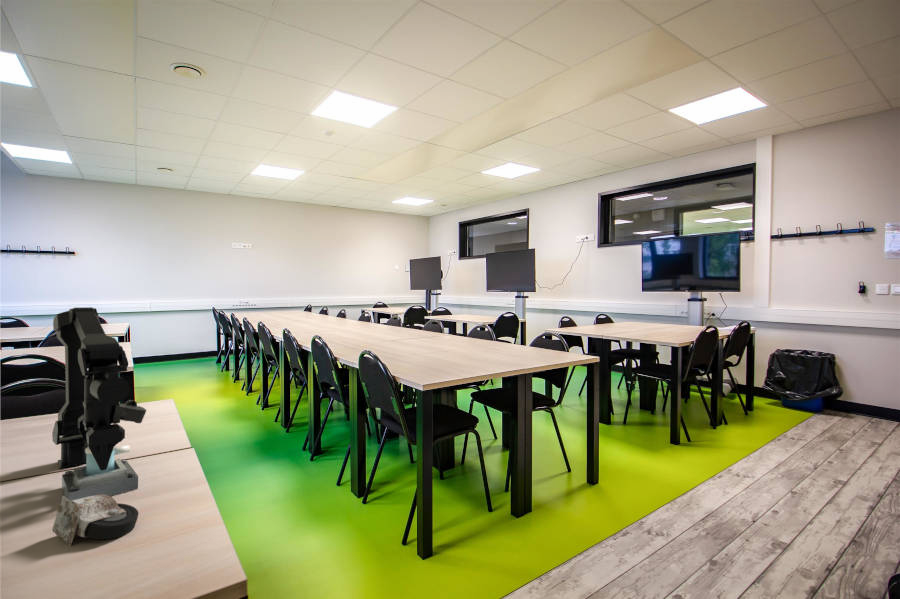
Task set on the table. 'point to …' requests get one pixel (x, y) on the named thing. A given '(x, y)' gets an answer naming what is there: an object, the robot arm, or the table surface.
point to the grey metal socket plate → (99, 481)
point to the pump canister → (93, 467)
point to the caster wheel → (93, 518)
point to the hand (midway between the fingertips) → (100, 463)
